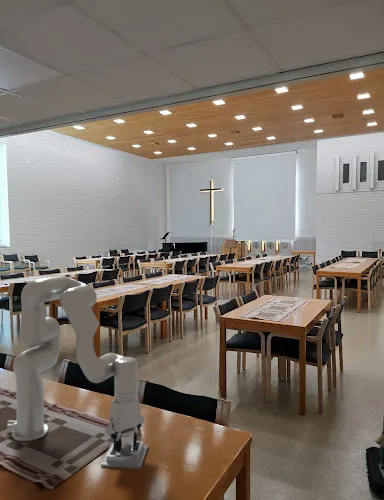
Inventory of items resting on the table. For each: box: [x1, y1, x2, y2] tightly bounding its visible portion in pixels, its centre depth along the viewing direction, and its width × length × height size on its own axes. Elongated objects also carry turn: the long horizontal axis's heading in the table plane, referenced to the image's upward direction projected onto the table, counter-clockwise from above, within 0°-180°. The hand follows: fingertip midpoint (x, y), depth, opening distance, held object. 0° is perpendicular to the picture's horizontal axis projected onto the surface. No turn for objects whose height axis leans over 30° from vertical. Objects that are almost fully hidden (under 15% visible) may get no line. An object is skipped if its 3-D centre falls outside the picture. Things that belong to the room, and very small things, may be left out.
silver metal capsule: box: [118, 427, 135, 454], centre depth 136 cm, size 6×6×7 cm
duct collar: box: [100, 440, 149, 470], centre depth 136 cm, size 13×13×3 cm
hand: (125, 446), depth 136 cm, fingers closed on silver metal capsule, 5 cm apart
